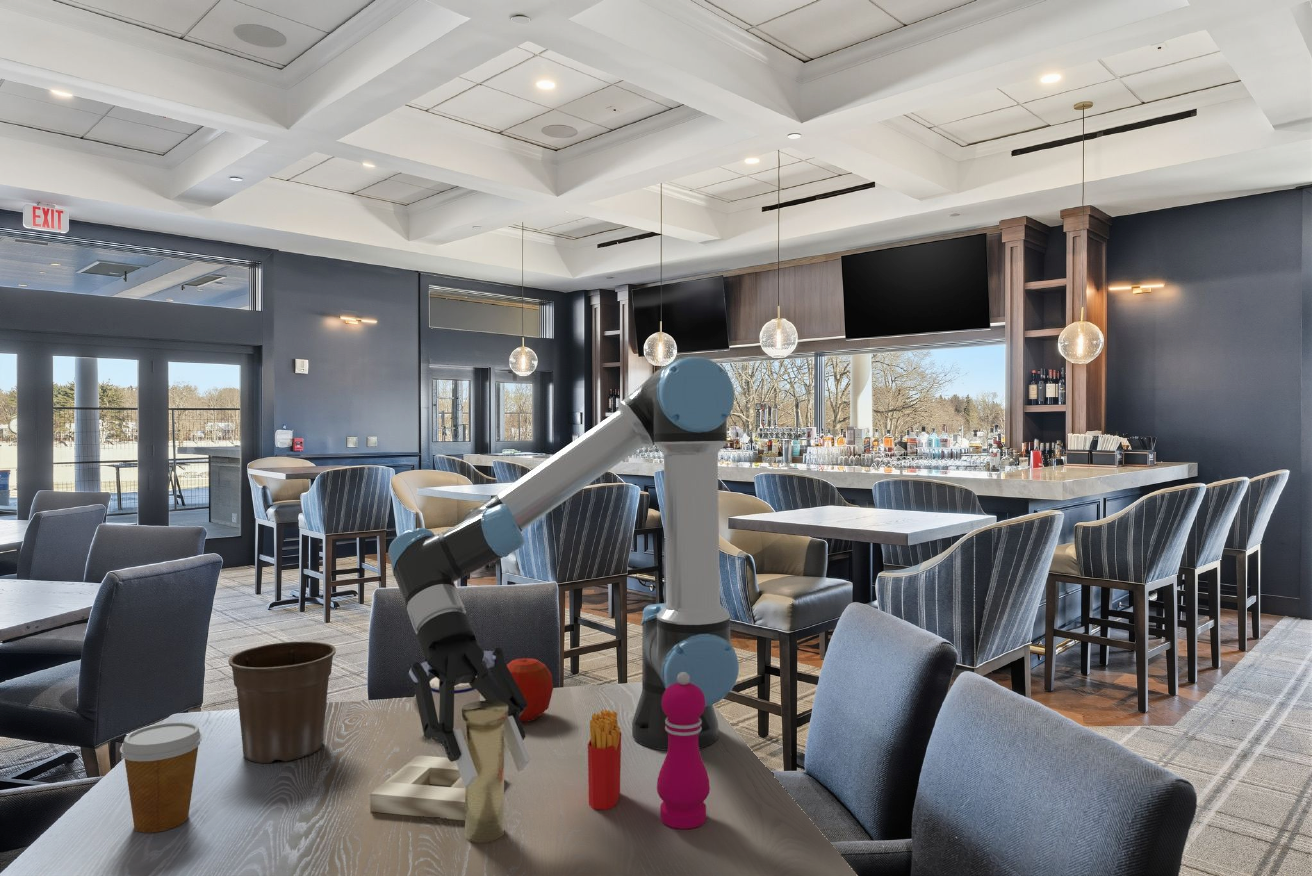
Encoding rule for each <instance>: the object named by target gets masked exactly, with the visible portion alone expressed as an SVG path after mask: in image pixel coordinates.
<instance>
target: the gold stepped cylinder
mask: <svg viewBox="0 0 1312 876" xmlns="http://www.w3.org/2000/svg"><path fill="white" fill-rule="evenodd" d="M507 720H508V705H507V704H506V703H504V702H501V701H494V700H485V699H484V700H480V701H477V702H472V703H469V704H466V705H465V706H463V707H462V723H463V724H465V742H466V745H467V747H468V750H469V753H470V756H471V758H472V761H473V764H474V766H475V769H476V772H477V775H478V776H477V777H476V779H475V780H474V781H473V783H472V784H471V786H468V787H465V820H464V837H465V840H466V841H469V842H471V843H476V844H483V843H484V844H485V843H490V842H494V841H497V840H498V839H500V838H502V837H503V836H504V833H505V737H504V722H505V721H507Z"/></svg>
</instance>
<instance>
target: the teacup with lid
mask: <svg viewBox="0 0 1312 876" xmlns="http://www.w3.org/2000/svg"><path fill="white" fill-rule="evenodd" d="M476 677H477V676H476ZM429 682H430V686H431V691H432V695H433V700H434V704H435V709H436V713H437V718H438V722H439V706H440V693H439V679H438V678H436V677H435V676H434V677H433V678H431V680H429ZM480 695H481V694H480V693H479V692H478V690H477V689H474V688H472V687H471V686H470V684H469V683H466V684H465V683H460V684H458V685H456V686H454V728H453V731H455V730H456V729H460V728H461V731H462V734H463V736H464V739H465V724H463V723H462V707H463V706H465V705H466V704H469V703H472V702H477V701H481V698H480V697H481V696H480ZM412 703H413V709H414V711H415V713H416V714H417V715H418V716H419V717H420V714H419V709H418V704H417V699H416V694H414V697H413V700H412ZM433 738H434V737H432V739H433ZM434 739H436V740H437V738H434Z"/></svg>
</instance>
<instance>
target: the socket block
mask: <svg viewBox="0 0 1312 876" xmlns="http://www.w3.org/2000/svg"><path fill="white" fill-rule="evenodd" d="M369 796H370V799H369V801H370V803H369V806H370V810H369V811H370V812H371V813H379V814H383V813H384V814H391V815H392V814H393V815H401V816H402V815H403V816H413V817H414V816H415V817H423V816H424V817H427V818H434V817H440V818H439V819H445V818H446V819H448V820H455V821H456V820H458V821H465V786H464V783H463V781H462V778H461V775H460V772H459V769H458V766H457V764H456V761H453V762H451V761H450V760H449V759H448V757H444V756H429V755H416V756H415V757H414V758H412V759H411V760H410V761H409V762H408V763H406V764H405V765H404V766H402V767H401V768H400V769H399V770H398V771H396V772H395V773H394V774H392V776H390V777H389V778H388V779H387V780H386V781H384V782H383V783H382V784H380V785H379V786H377V788H375V789H374V790H373V791H372V792H370V795H369ZM424 817H423V818H424Z"/></svg>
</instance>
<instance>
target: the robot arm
mask: <svg viewBox="0 0 1312 876" xmlns="http://www.w3.org/2000/svg"><path fill="white" fill-rule="evenodd" d="M734 402H735V390H734V385H733V382H732V380H731V378H730V377H729V374H728V373H727V372H726V370H725V369H723V367H722V366H720V365H719V364H718V363H717V362H715V361H714V360H711V359H708V358H705V357H702V356H688V357H680V358H677V359H675V360H672V361H671V362H670V363H669V364H666V365H664V366H662V367H660V368H658V369H657V370H656V371H655V372H654V373H653V374H651V376H649V377H648V378H647V379H646V380H645V381H644V382H643V383H642V384H641V385H640V386H638V387H637V389H635V390H634V391H633V392H632V393H630V394H629V395H627V396H626V397H625V398H623V399H622V400H621V401H619V402H618V408H617V410H616V411H615V412H614V413H612V414H611V415H609V416H608V417H606V418H605V419H603V420H602V421H600V422H599V423H598V424H596V425H595V426H593V427H592V428H591V429H589V430H587V431H586V432H584V433H583V434H582V435H580V436H578V438H576V439H574V440H573V441H571V442H570V443H569V444H567V445H566V446H564V447H563V448H562V449H560V450H559V451H557V452H556V453H554V454H553V455H552V456H550V457H549V458H547V459H545V461H543V462H541V463H540V464H539V465H537V466H536V467H534V468H533V469H532V470H529V472H527V473H526V474H524V475H523V476H522V477H521V476H520V477H519V478H518V479H517V480H515V481H514V482H513V483H511V484H510V485H508V486H507V487H505V488H504V489H503V490H501V491H500V492H498V493H497V494H496V495H495V496H493V497H491V498H490V499H488V500H486V501H485V502H484V503H482V504H481V505H480V506H476V507H474V508H473V509H471V510H470V511H469V512H467V513H466V514H465V515H464V517H463V518H462V521H461V522H460V523H459V524H457V525H454V526H453V527H451V528H449V529H447V530H445V531H442V532H441V533H437V534H435V533H434V532H433V531H432V530H431V529H428V528H424V527H417V528H415V529H414V530H412V529H409V530H406V531H404V532H401V533H400V534H399V535H397V536H396V537H395V538H394V539H393V540H392V541H391V543H390V545H389V547H388V558H389V562H390V564H391V568H392V575H393V578H395V581H396V583H397V585H398V589H399V590H400V594H401V596H402V599H403V602H404V605H405V608H406V610H407V613H408V616H409V619H410V622H411V625H412V628H413V630H414V633H415V634H416V638H417V639H416V640H417V642H418V645H419V648H420V650H421V654H422V656H423V658H424V661H423V662H421V663H420V662H417V661H416V662H414V663H412V666H411V667H410V669H409V670H408V671H409V672H408V673H407V674H406V675H407V679H408V680H409V682H410V683H411V685H412V686H413V689H414V693H415V694H414V695H416V699H417V704H418V709H419V714H420V716H419V717H420V723H421V727H422V732H423V736H424V738H425V739H426V740H431V739H433V737H434V739H436V738H437V739H436V742H438V743H439V744H443V748H444V750H445V754H446V756H447V757H446V758H448V759H449V760H450V761H451V762H453V761H456V764H457V766H458V769H459V772H460V775H461V778H462V781H463V783H464V786H465V787H468V786H471V784H472V783H473V781H474V780H475V779H476V777H477V776H478V775H477V772H476V769H475V766H474V764H473V761H472V758H471V756H470V753H469V750H468V747H467V745H466V742H465V739H464V736H463V734H462V731H461V728H460V729H456V730H455V731H453V728H454V686H456V685H458V684H460V683H465V684H466V683H469V684H470V686H471V687H472V688H474V689H477V690H478V692H479V693H480V695H481V696H482V698H483V699H484V701H485V700H494V701H501V702H504V703H506V704H507V705H508V720H507V721H505V722H504V741H505V742H506V745H507V747H508V750H509V752H510V755H511V757H512V760H513V762H514V765H515V768H516V770H517V772H521V771H524V770H525V768H526V767H527V765H528V764H529V763H530V761H531V760H532V759H531V757H530V755H529V752H528V750H527V747H526V744H525V743H524V740H525V739H526V732H525V730H524V727H523V725H522V721H520V719H519V716H521V714H522V713H523V711H524V710H525V709H526V707H527V705H528V704H527V701H526V700H525V698H524V696H523V694H522V692H521V691H520V689H519V687H518V685H517V683H516V682H515V680H514V678H513V676H512V674H511V673H510V671H509V669H508V667H507V665H508V664H506V662H505V658H504V651H503V649H502V648H500V647H495V648H494V650H493V651H492V650H484V649H483V648H482V647H481V646H480V645H479V644H478V642H477V637H476V633H475V630H474V629H473V626H472V623H471V621H470V619H469V618H470V617H469V616H468V615H467V614H466V613H467V612H466V608H465V605H464V603H463V601H462V599H461V596H460V594H459V592H458V589H457V586H456V584H455V582H456V581H459V580H460V579H463V578H465V577H466V576H467V575H469V574H472V573H474V572H476V571H478V570H480V569H482V568H484V567H486V566H489V565H490V564H493V563H494V562H496V561H498V560H501V559H502V558H507V557H508V556H510V554H512V553H513V552H515V551H517V550H519V549H520V548H522V547H523V546H524V543H525V538H524V536H523V534H522V533H523V531H524V530H525V529H527V528H528V527H530V526H531V525H533V524H534V523H535V522H537V521H538V520H540V519H541V518H543V517H544V516H545V515H547V514H548V513H550V512H551V511H552V510H554V509H556V508H557V507H559V506H560V505H561V504H563V502H566V501H567V500H568V499H569V498H571V497H573V496H574V495H575V494H577V493H579V492H580V491H581V490H583V489H584V488H585V487H587V486H588V485H590V484H591V483H593V482H594V481H596V480H597V479H599V478H600V477H601V476H602V475H604V474H606V473H607V472H608V471H610V470H612V469H613V468H614V467H615V466H618V464H620V463H621V462H623V461H624V460H626V459H627V458H629V457H630V456H631V455H632V454H634V453H635V452H637V451H639V449H642V448H643V447H644V448H653V447H654V446H655V447H656V448H658V449H659V451H661V453H662V455H663V479H664V480H663V482H664V483H663V484H664V485H663V486H664V488H663V489H664V491H663V492H664V539H665V540H664V541H665V544H664V545H665V550H664V551H665V552H664V553H665V555H664V556H665V600H666V601H665V602H663V603H655V604H654V603H653V604H648V605H646V606H645V607H644V609H643V611H642V619H641V622H640V624H641V626H642V628H641V629H642V631H641V633H642V634H641V636H642V637H641V638H642V639H641V641H642V643H641V644H642V645H641V646H642V647H641V649H642V652H641V653H642V657H641V661H642V662H641V665H642V666H641V669H642V671H641V672H642V673H641V679H642V681H641V684H642V686H641V687H642V688H641V689H642V690H641V694H640V697H639V700H638V703H637V705H636V709H635V711H634V715H633V719H632V722H631V723H632V724H631V735H632V738H633V740H634V741H635V742H637V743H639V744H640V745H642V746H645V747H648V748H652V749H657V750H663V751H668V742H669V738H668V732H667V731H666V730H665V726H666V723H665V720H666V718H667V716H666V714H665V713H664V711H663V710H662V704H661V702H662V696H663V693H664V692H665V690H666V689H667V688H668V687H669V686H671V685H672V684H675V683H678V681H677V676H678V674H679V673H681V672H686V673H687V674H688V675H689V676H690V681H689V683H691V684H694V685H696V686H697V687H699V688H700V689H701V691H702V692H703V694H704V697H705V709H704V712H703V713H702V715H701V716H700V717H699V718H700V719H701V721H702V723H701V727H702V730H701V731H700V732H699V734H698V745H699V749H700V748H704V747H707V746H709V745H710V746H711V744H713V743H715V742H716V741H717V740H718V739H719V722H718V718H717V714H716V712H715V708H714V705H715V704H717V703H719V702H720V701H722V700H723V699H725V698H726V697H727V696H728V695H729V693H731V691H732V690H733V688H734V687H735V685H736V683H737V680H738V677H739V672H740V671H739V669H740V666H739V665H740V664H739V660H738V656H737V654H736V650H735V648H734V647H733V645H732V644H731V614H730V613H729V611H728V610H727V609H725V607H724V606H723V605H722V604H721V589H720V588H721V585H720V583H721V582H720V580H721V578H720V577H721V575H720V573H721V572H720V524H719V523H720V521H719V517H720V515H719V509H720V508H719V464H718V463H719V459H718V454H719V453H720V451H721V450H722V448H723V447H725V446H726V445H727V443H728V423H727V422H728V418H729V417H730V415H731V414H732V410H733V407H734ZM483 662H485V664H486V667H487V668H486V667H485V665H483ZM487 669H489V671H490V673H491V675H492V677H493V678H491V676H490V675H489V671H488V670H487ZM430 674H431V675H432V676H434V678H435V677H436V678H438V679H439V693H440V706H439V722H438V718H437V713H436V709H435V704H434V700H433V695H432V691H431V686H430V678H429V675H430ZM476 676H477V677H476ZM493 679H494V680H495V681H494V680H493Z"/></svg>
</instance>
